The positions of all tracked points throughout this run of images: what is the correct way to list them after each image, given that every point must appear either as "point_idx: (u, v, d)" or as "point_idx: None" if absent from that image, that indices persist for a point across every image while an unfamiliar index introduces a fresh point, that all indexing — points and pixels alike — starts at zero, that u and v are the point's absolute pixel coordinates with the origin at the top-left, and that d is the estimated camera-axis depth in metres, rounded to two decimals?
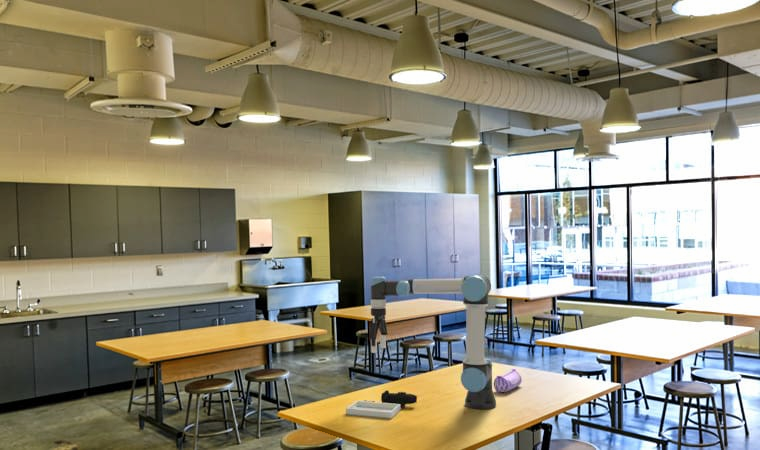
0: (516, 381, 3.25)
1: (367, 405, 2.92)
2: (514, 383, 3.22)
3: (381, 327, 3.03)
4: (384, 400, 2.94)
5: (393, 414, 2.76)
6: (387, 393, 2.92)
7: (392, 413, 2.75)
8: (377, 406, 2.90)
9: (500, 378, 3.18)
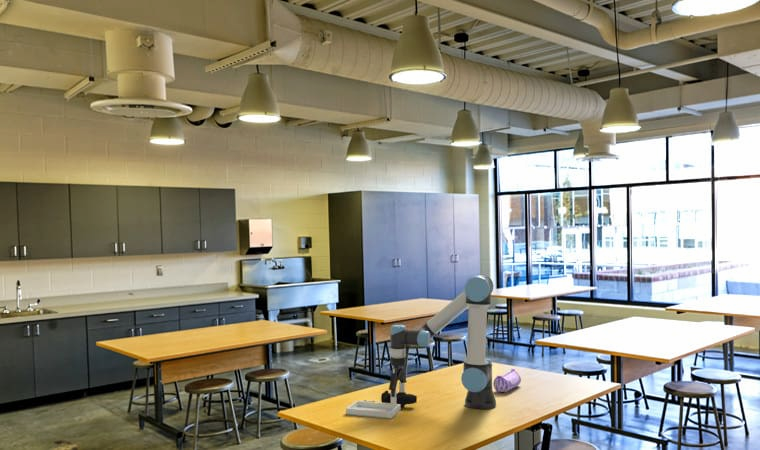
0: (516, 381, 3.25)
1: (367, 405, 2.92)
2: (514, 383, 3.22)
3: (400, 376, 2.98)
4: (384, 400, 2.94)
5: (393, 414, 2.76)
6: (387, 393, 2.92)
7: (392, 413, 2.75)
8: (377, 406, 2.90)
9: (500, 378, 3.18)
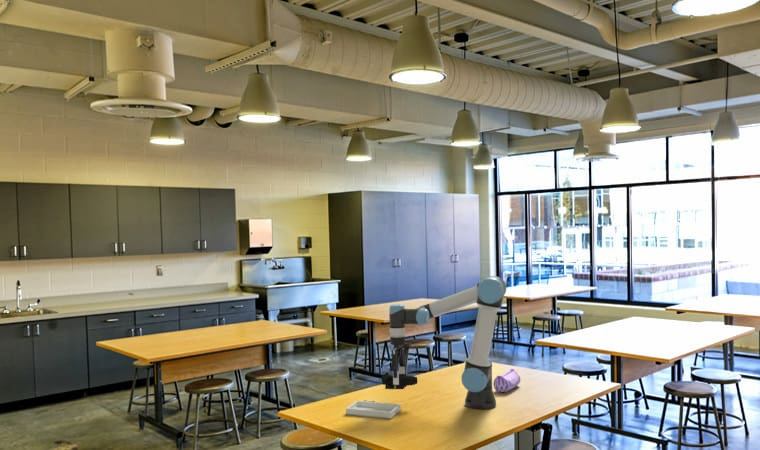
0: (515, 381, 3.25)
1: (367, 405, 2.92)
2: (513, 383, 3.23)
3: (400, 357, 2.97)
4: (385, 382, 2.94)
5: (393, 414, 2.76)
6: (387, 375, 2.92)
7: (392, 413, 2.75)
8: (377, 406, 2.90)
9: (500, 378, 3.18)
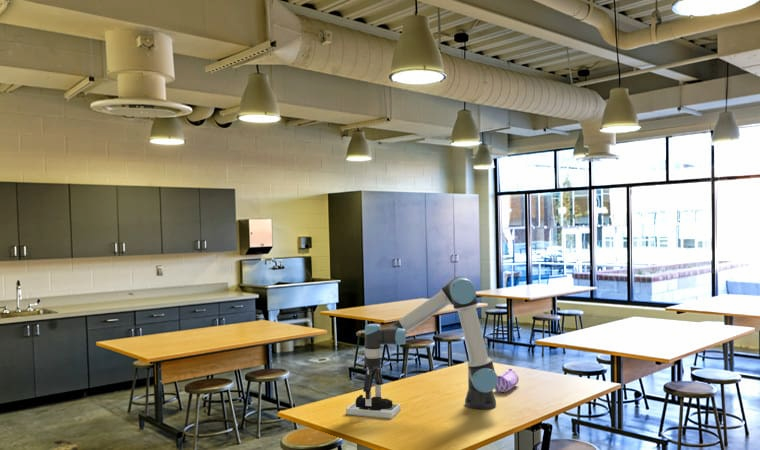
0: (514, 381, 3.26)
1: None
2: (513, 383, 3.23)
3: (376, 377, 2.88)
4: (358, 405, 2.83)
5: (393, 414, 2.76)
6: (361, 397, 2.82)
7: (392, 413, 2.75)
8: None
9: (500, 378, 3.18)
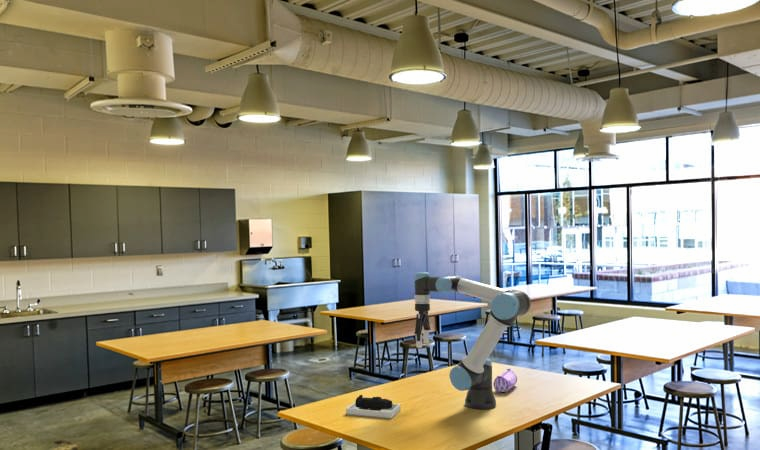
0: (514, 381, 3.26)
1: None
2: (512, 383, 3.23)
3: (424, 322, 3.05)
4: (358, 405, 2.83)
5: (393, 414, 2.76)
6: (361, 397, 2.81)
7: (392, 413, 2.75)
8: None
9: (500, 378, 3.18)
